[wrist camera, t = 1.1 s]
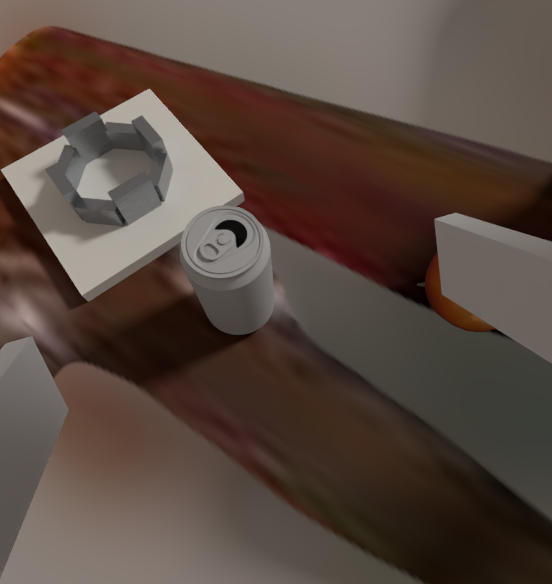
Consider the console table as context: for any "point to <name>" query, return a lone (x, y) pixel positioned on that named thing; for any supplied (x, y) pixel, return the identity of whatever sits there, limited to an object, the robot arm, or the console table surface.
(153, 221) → the board
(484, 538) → the console table surface
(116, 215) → the collar
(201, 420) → the console table surface
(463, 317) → the fruit
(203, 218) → the beverage can
